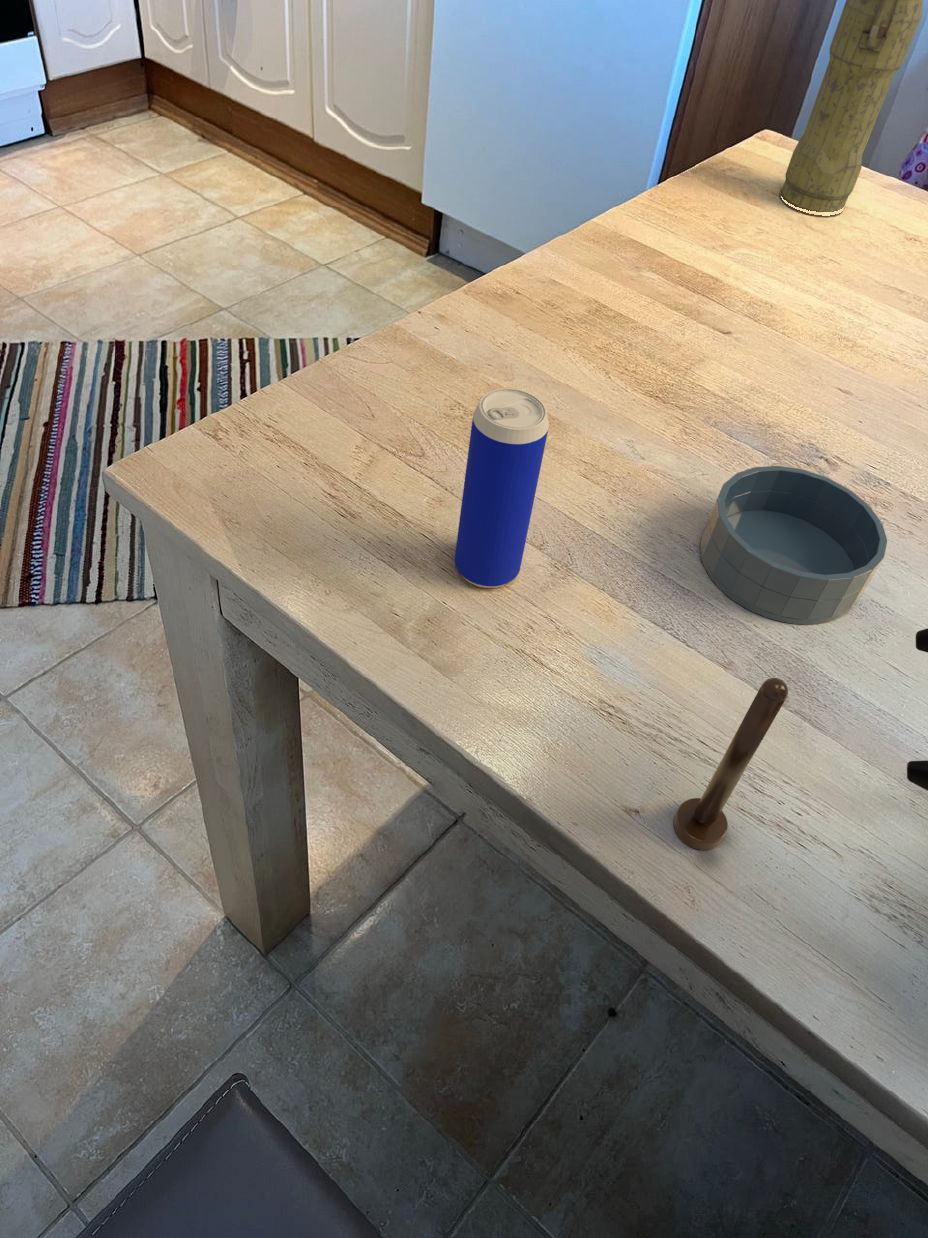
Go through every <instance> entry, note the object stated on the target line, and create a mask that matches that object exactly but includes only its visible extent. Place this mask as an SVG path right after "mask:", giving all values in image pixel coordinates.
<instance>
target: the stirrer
mask: <svg viewBox="0 0 928 1238" xmlns="http://www.w3.org/2000/svg"><path fill="white" fill-rule="evenodd" d="M788 695H789V688H788V685H787V683H786V682H785V681H784V680H783V679H781V678H779V677H770V678H768V679H766V680H764V681H763V682H762V684H761V685H760V687H759V689H758V691H757V693H756V694H755V696H754V698H753V700H752V702H751V704H750V706H749V708H748V709H747V712H746V713H745V715H744V717H743V719H742V721H741V722H740V725H739V726H738V728H737V730H736V732H735V734H734V735H733V738H732V739H731V741H730V743H729V745H728V747H727V749H726V751H725V753H724V754H723V756H722V758H721V760H720V762H719V764H718V766H717V768H716V770H715V772H714V773H713V775H712V776H711V779H710V781H709V783H708V784H707V786H706V788H705V790H704V791H703V793H702V796H701V797H694V798H693V797H692V798H689V799H686V800H685V801H684V802H682V803H681V804H680V805H679V807H678V809H677V811H676V813H675V815H674V817H673V826H674V827H673V828H674V830H675V833H676V835H677V837H678V838H679V839H680V840H681V841H682V842H683V843H684V844H686V845H687V846H689V847H690V848H693V849H695V850H701V851H708V850H712V849H714V848H716V847H718V846H719V845H720V844H721V842H723V839H724V838H725V836H726V834H727V832H728V827H729V825H728V824H729V823H728V819H727V816H726V814H725V813H724V811H723V809H724V807H725V806H726V804H727V803H728V801H729V799H730V797H731V795H732V794H733V792H734V790H735V788H736V787H737V785H738V783H739V781H740V779H741V778H742V776H743V774H744V772H745V771H746V770H747V767H748V766H749V764H750V763H751V760H752V759H753V757H754V755H755V754H756V752H757V750H758V748H759V746H760V745H761V743H762V742H763V740H764V738H765V736H766V735H767V733H768V731H769V729H770V727H771V726H772V724H773V722H774V721H775V719H776V717H777V715H778V714H779V712H780V710H781V708H782V707H783V705H784V703H785V701H786V700H787V698H788Z"/></svg>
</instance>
